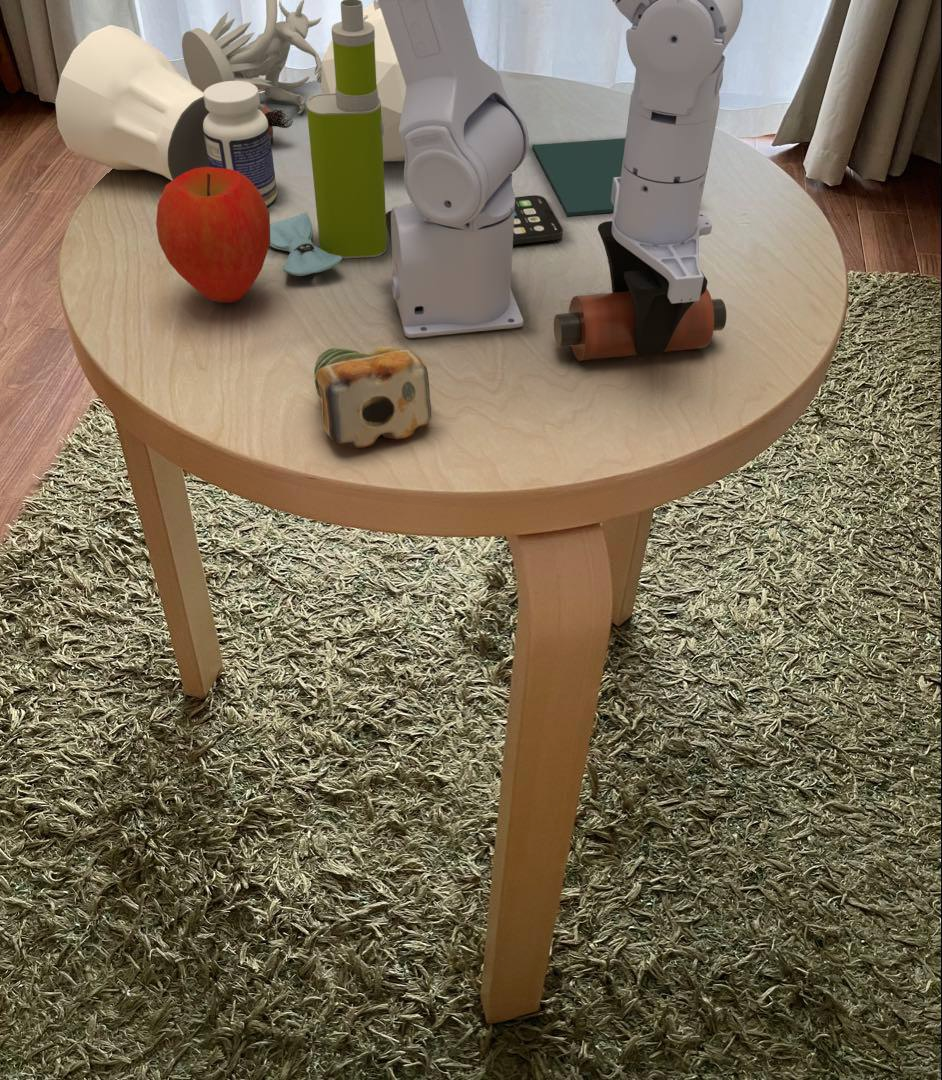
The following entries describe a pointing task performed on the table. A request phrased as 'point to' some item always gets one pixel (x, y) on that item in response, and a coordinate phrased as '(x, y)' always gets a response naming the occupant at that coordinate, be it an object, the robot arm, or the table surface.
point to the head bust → (276, 119)
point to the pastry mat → (582, 173)
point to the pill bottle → (239, 134)
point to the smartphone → (528, 221)
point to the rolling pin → (629, 325)
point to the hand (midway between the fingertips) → (638, 333)
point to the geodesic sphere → (378, 82)
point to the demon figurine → (250, 53)
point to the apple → (214, 231)
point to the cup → (130, 106)
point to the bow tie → (300, 246)
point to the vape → (349, 145)
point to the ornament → (372, 394)
